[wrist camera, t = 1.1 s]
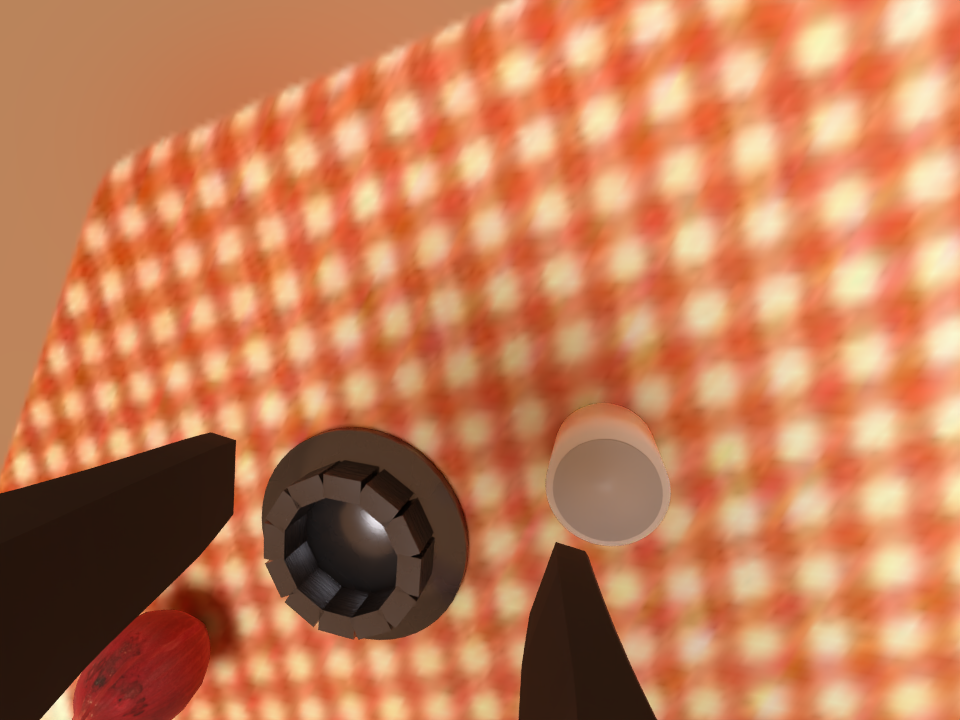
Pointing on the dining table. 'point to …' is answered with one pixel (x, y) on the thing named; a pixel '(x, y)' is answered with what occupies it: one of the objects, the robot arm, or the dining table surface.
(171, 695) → the onion
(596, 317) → the dining table surface
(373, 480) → the ridged round lid
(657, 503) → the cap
